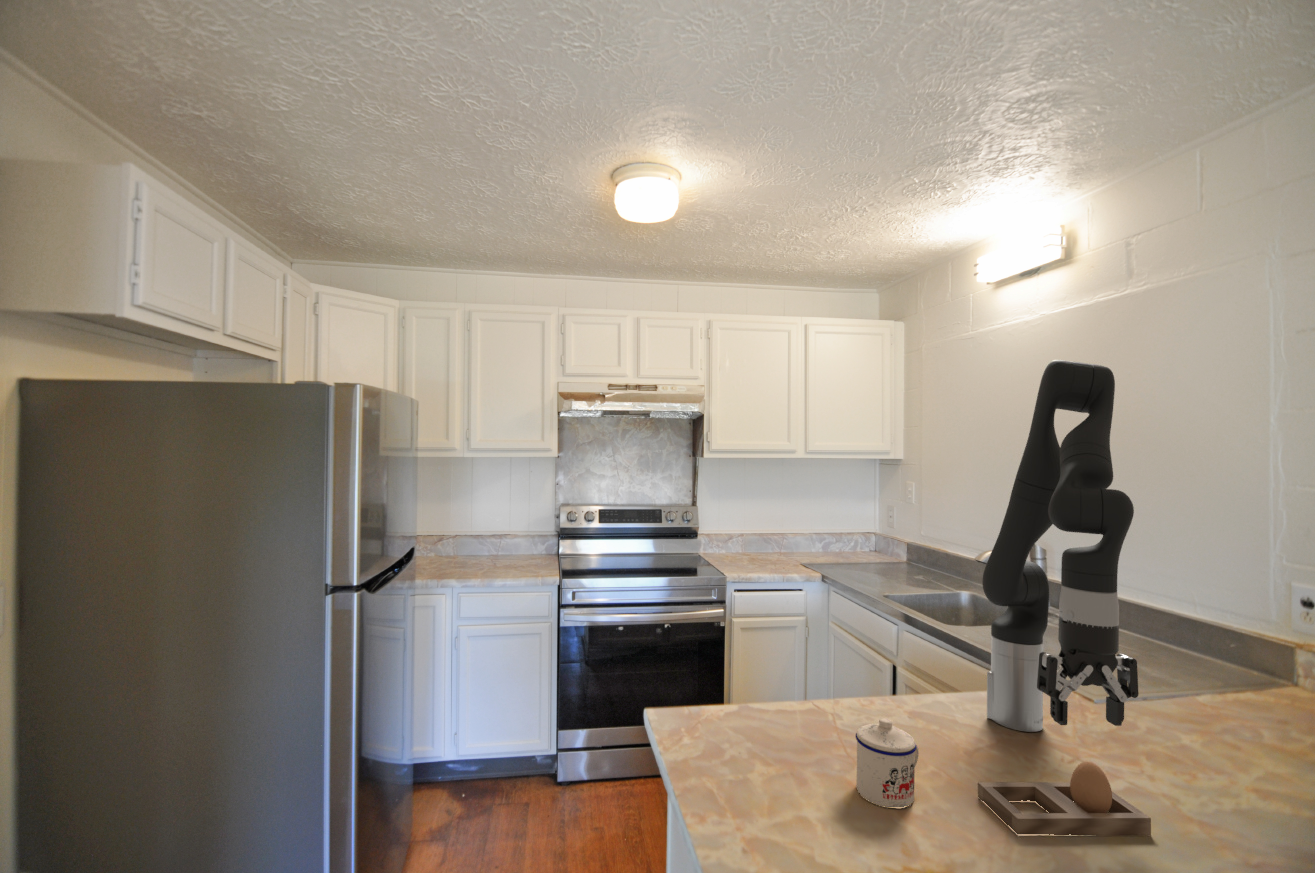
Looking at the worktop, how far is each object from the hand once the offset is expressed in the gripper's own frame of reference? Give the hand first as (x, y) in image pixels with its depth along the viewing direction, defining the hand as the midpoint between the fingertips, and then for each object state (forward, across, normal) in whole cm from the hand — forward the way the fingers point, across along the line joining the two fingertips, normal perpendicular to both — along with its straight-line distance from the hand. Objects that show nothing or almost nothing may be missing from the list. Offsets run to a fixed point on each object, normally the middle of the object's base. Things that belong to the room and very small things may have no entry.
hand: (1086, 723), depth 90 cm
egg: (+14, 0, 0) cm, 14 cm away
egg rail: (+14, +4, +1) cm, 14 cm away
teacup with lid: (+14, +28, -6) cm, 32 cm away
